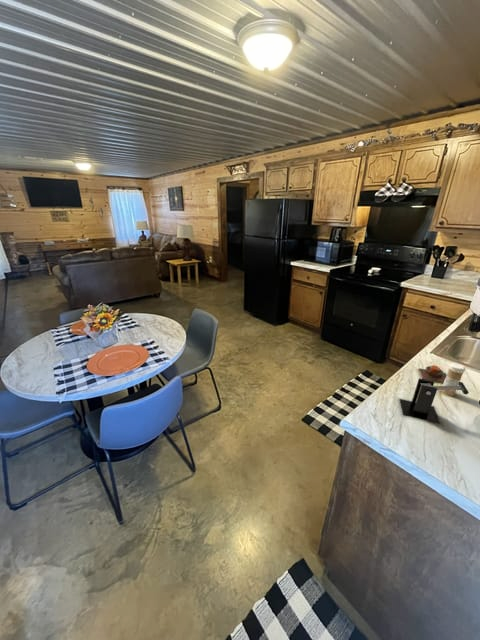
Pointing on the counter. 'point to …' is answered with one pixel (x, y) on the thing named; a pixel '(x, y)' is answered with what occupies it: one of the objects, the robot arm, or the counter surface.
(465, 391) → the lever
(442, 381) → the button block
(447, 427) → the counter surface
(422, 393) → the bracket
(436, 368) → the button
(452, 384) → the sprinkles bottle
